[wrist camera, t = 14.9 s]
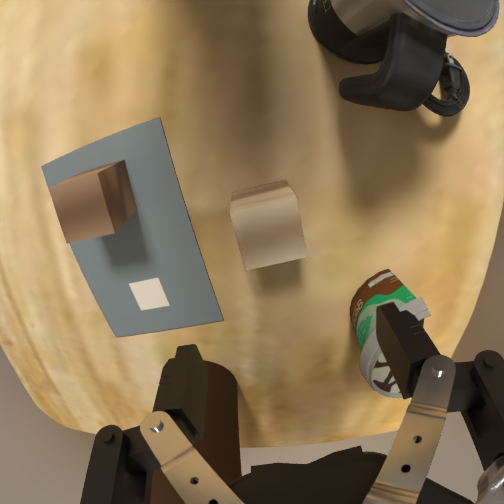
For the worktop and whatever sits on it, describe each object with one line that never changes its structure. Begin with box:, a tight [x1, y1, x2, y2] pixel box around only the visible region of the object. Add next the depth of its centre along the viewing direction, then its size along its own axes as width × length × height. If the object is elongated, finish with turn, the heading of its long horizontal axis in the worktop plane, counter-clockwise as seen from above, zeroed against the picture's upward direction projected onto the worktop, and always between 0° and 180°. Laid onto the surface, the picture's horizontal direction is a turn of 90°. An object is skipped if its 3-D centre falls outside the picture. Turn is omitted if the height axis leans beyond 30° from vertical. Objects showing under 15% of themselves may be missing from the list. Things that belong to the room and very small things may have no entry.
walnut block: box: [49, 160, 137, 243], centre depth 25 cm, size 5×5×6 cm
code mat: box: [41, 117, 223, 337], centre depth 30 cm, size 22×14×1 cm, turn 13°
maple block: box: [230, 180, 307, 271], centre depth 27 cm, size 5×5×6 cm
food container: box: [350, 269, 431, 398], centre depth 30 cm, size 12×6×10 cm, turn 14°
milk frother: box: [308, 0, 499, 116], centre depth 16 cm, size 14×16×15 cm
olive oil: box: [150, 361, 242, 504], centre depth 28 cm, size 11×11×25 cm
